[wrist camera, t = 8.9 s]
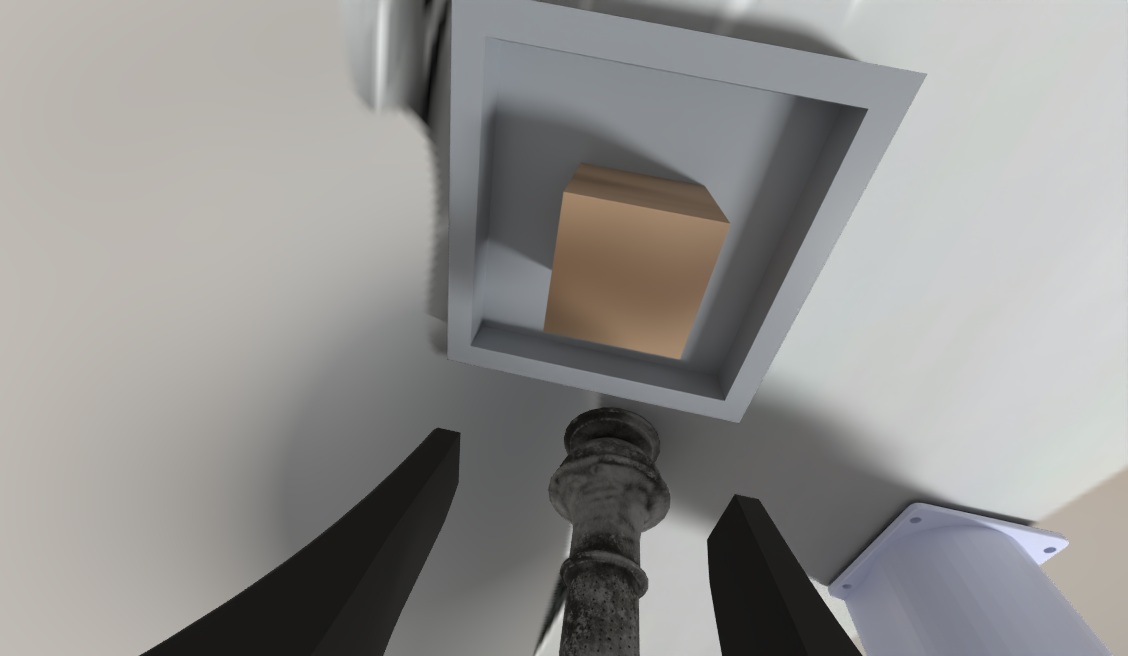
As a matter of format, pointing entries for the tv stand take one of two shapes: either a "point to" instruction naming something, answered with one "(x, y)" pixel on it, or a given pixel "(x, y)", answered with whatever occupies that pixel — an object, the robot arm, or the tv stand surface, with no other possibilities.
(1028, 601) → the robot arm
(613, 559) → the dark grey turned piece
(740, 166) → the tray
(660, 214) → the block
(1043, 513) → the tv stand surface
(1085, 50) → the tv stand surface
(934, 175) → the tv stand surface
